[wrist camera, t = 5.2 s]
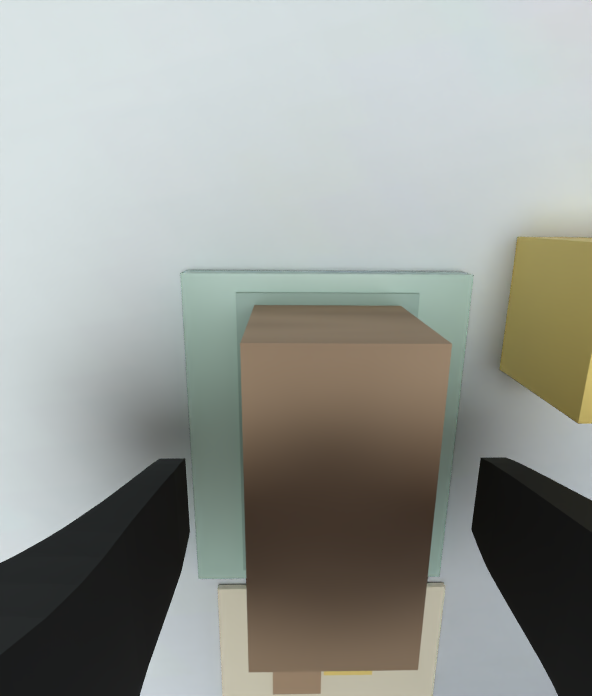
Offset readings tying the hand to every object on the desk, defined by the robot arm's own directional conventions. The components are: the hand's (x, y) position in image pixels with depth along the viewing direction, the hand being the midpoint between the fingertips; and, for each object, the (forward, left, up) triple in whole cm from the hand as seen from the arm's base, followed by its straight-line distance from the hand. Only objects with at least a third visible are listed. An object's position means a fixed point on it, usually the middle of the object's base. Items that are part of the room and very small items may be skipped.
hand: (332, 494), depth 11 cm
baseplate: (0, 0, -4) cm, 4 cm away
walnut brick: (0, 0, -3) cm, 3 cm away
